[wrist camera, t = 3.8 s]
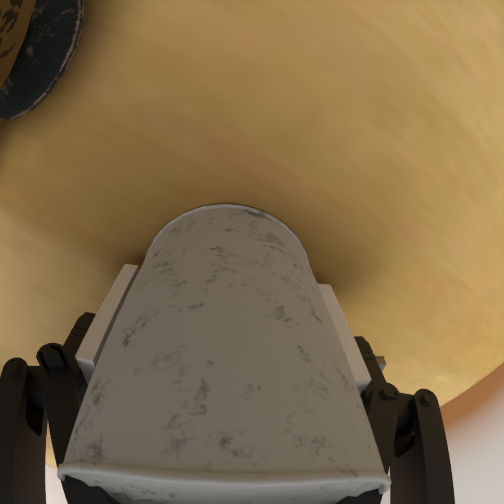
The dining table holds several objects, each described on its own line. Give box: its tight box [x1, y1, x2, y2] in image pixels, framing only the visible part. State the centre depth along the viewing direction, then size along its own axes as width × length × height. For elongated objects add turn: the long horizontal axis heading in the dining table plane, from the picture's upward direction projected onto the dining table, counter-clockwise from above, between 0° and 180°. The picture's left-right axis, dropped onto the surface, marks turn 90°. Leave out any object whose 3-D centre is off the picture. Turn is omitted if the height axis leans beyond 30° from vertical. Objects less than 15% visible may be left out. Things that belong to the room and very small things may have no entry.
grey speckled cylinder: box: [57, 204, 391, 504], centre depth 11 cm, size 10×10×12 cm
